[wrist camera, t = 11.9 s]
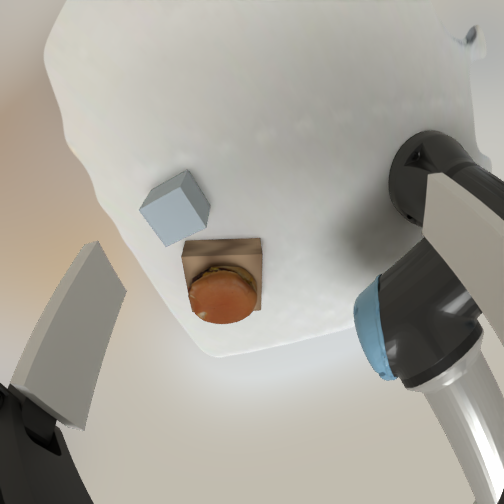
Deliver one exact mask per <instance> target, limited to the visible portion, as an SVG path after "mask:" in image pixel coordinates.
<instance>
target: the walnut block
mask: <svg viewBox="0 0 504 504" xmlns="http://www.w3.org/2000/svg"><path fill="white" fill-rule="evenodd" d="M181 258H182V263H183V268H184V274H185V279H186V284H187V289H188V287H189V286H191V285H192V278H194V277H195V276H197V275H199V274H200V273H201V272H203V271H204V270H206V269H208V268H209V267H219V266H232V267H240V268H243V269H245V270H246V271H247V272H248V273H249V274H250V275H251V276H252V277H253V278H254V280H255V282H256V284H257V303H256V306H255V308H254V310H253V311H258V310H261V288H262V249H261V242H260V238H249V239H218V240H191V241H185V245H184V248H183V252H182V256H181ZM188 294H189V292H188ZM191 308H192V307H191ZM192 312H194V311H193V309H192Z"/></svg>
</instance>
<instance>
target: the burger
mask: <svg viewBox="0 0 504 504" xmlns="http://www.w3.org/2000/svg"><path fill="white" fill-rule="evenodd" d="M188 292H189V295H188V297H189V300H190V304H191V307H192V309H193V311H194V312H195V314H196V315H197V316H198V317H199V318H201V319H202V320H204V321H207V322H211V323H215V324H229V323H234V322H238V321H240V320H243V319H244V318H246V317H247V316H249V315H250V314H251V313H252V311H253V310H254V308H255V306H256V303H257V284H256V282H255V280H254V278H253V277H252V276H251V275H250V274H249V273H248V272H247V271H246V270H245V269H243V268H240V267H232V266H219V267H209V268H208V269H206V270H204V271H203V272H201V273H200V274H199V275H197V276H195V277H194V278H192V285H191V286H189V287H188Z"/></svg>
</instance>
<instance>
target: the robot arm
mask: <svg viewBox="0 0 504 504" xmlns="http://www.w3.org/2000/svg"><path fill="white" fill-rule="evenodd" d="M389 191H390V196H391V199H392V202H393V204H394V205H395V207H396V208H397V210H398V211H399V212H400V213H401V214H402V215H403V216H404V217H405V218H406V219H407V220H408V221H410V222H411V223H413V224H416V225H418V226H420V227H423V229H422V234H423V235H424V238H423V239H422V240H421V241H420V242H419V243H418V244H417V245H415V246H414V247H413V248H412V249H411V250H410V251H409V252H408V253H407V254H406V255H404V256H403V257H402V258H401V259H400V260H399V261H398V262H396V263H395V264H394V265H393V266H392V267H391V268H390V269H388V270H387V271H386V272H385V273H384V274H381V275H380V274H379V275H378V276H377V277H376V279H375V281H374V282H373V283H371V284H370V285H369V286H368V287H367V288H366V289H365V290H364V291H363V292H361V293H360V294H359V296H358V297H357V299H356V301H355V304H354V322H355V327H356V331H357V335H358V338H359V341H360V343H361V346H362V348H363V351H364V353H365V355H366V357H367V359H368V361H369V363H370V364H371V366H372V368H373V369H374V370H375V372H377V373H379V376H380V377H381V378H382V379H384V380H387V381H389V380H395V379H397V378H398V377H399V378H400V379H401V381H402V383H403V384H404V386H405V388H406V389H407V390H411V391H417V392H422V393H424V395H425V397H426V399H427V401H428V402H429V404H430V406H431V408H432V410H433V411H434V413H435V415H436V417H437V419H438V421H439V423H440V425H441V426H442V428H443V430H444V432H445V434H446V436H447V438H448V440H449V442H450V444H451V446H452V448H453V450H454V452H455V454H456V456H457V458H458V460H459V463H460V465H461V467H462V469H463V471H464V473H465V476H466V478H467V480H468V482H469V485H470V487H471V489H472V492H473V494H474V496H475V499H476V500H475V502H474V504H504V398H503V395H502V393H501V391H500V389H499V387H498V384H497V382H496V380H495V378H494V376H493V374H492V372H491V370H490V368H489V366H488V364H487V362H486V360H485V358H484V356H483V354H482V352H481V350H480V349H481V348H480V347H481V343H482V339H483V335H484V331H483V328H482V327H481V325H480V323H479V322H478V320H477V318H478V317H479V316H480V314H482V313H483V314H484V315H485V317H486V318H487V320H488V322H489V323H490V325H491V326H492V328H493V329H494V331H495V333H496V334H497V336H498V338H499V339H500V341H501V343H502V345H503V346H504V182H503V181H502V180H501V179H499V178H498V177H496V176H495V175H493V174H491V173H490V172H488V171H487V170H485V169H483V168H482V167H480V166H479V165H477V164H475V162H474V161H473V160H472V158H471V157H470V156H469V155H468V153H467V152H466V151H465V150H464V149H463V147H462V146H461V145H460V144H459V143H458V142H457V141H456V140H455V139H453V138H452V137H450V136H448V135H446V134H443V133H441V132H438V131H425V132H421V133H419V134H416V135H415V136H413V137H412V138H410V139H409V140H408V141H407V142H406V143H405V144H404V145H403V146H402V147H401V148H400V150H399V151H398V153H397V155H396V157H395V159H394V161H393V163H392V166H391V170H390V175H389ZM126 292H127V291H126V289H125V288H124V286H123V284H122V283H121V281H120V279H119V278H118V276H117V274H116V272H115V271H114V269H113V267H112V265H111V263H110V262H109V260H108V258H107V256H106V254H105V253H104V251H103V249H102V247H101V246H100V243H99V241H96V242H92V243H88V244H85V245H84V246H83V247H82V249H81V250H80V252H79V253H78V255H77V257H76V258H75V259H74V261H73V262H72V264H71V265H70V267H69V269H68V270H67V272H66V273H65V275H64V277H63V278H62V280H61V281H60V283H59V285H58V287H57V288H56V290H55V292H54V293H53V295H52V297H51V298H50V300H49V302H48V304H47V306H46V307H45V309H44V311H43V313H42V315H41V317H40V319H39V320H38V322H37V325H36V326H35V328H34V330H33V332H32V334H31V336H30V338H29V340H28V342H27V345H26V347H25V349H24V351H23V353H22V355H21V358H20V360H19V362H18V365H17V367H16V369H15V372H14V374H13V376H12V379H11V381H10V385H9V387H8V389H7V388H6V387H4V386H3V385H2V384H1V383H0V504H94V503H93V501H92V500H91V498H90V496H89V494H88V492H87V490H86V488H85V486H84V484H83V482H82V480H81V478H80V476H79V473H78V471H77V469H76V467H75V465H74V462H73V460H72V458H71V455H70V453H69V450H68V448H67V445H66V442H65V440H64V437H63V434H62V432H61V430H60V428H58V427H57V426H55V425H56V421H57V420H58V421H59V422H61V423H62V424H64V425H65V426H67V427H68V428H72V429H78V430H83V431H84V430H85V426H86V421H87V417H88V413H89V408H90V404H91V401H92V397H93V393H94V389H95V386H96V382H97V378H98V375H99V372H100V368H101V365H102V361H103V358H104V355H105V352H106V349H107V345H108V343H109V339H110V337H111V334H112V330H113V327H114V325H115V322H116V319H117V316H118V313H119V310H120V308H121V305H122V302H123V300H124V297H125V294H126Z"/></svg>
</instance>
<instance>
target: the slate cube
mask: <svg viewBox="0 0 504 504" xmlns="http://www.w3.org/2000/svg"><path fill="white" fill-rule="evenodd" d="M209 210H210V205H209V203H208V201H207V200H206V198H205V196H204V195H203V193H202V192H201V190H200V188H199V187H198V185H197V183H196V182H195V180H194V179H193V177H192V175H191V174H190V172H189V170H186V171H184V172H182V173H181V174H179V175H177V176H175V177H173V178H172V179H170V180H168V181H166V182H165V183H163V184H161V185H159V186H158V187H156V188H154V189H152V190H151V191H150V193H149V195H148V196H147V198H146V199H145V201H144V202H143V204H142V206H141V207H140V209H139V211H140V212H141V214H142V215H143V216H144V218H145V219H146V221H147V222H148V223H149V225H150V226H151V227H152V229H153V230H154V232H155V233H156V234H157V236H158V237H159V238H160V240H161V241H162V242H163V244H164V245H165V246H166V247H167V246H169V245H171V244H173V243H175V242H177V241H180V240H182V239H184V238H186V237H188V236H190V235H192V234H194V233H196V232H198V231H201V230H203V229H205V228H206V227H207V221H208V216H209Z"/></svg>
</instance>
